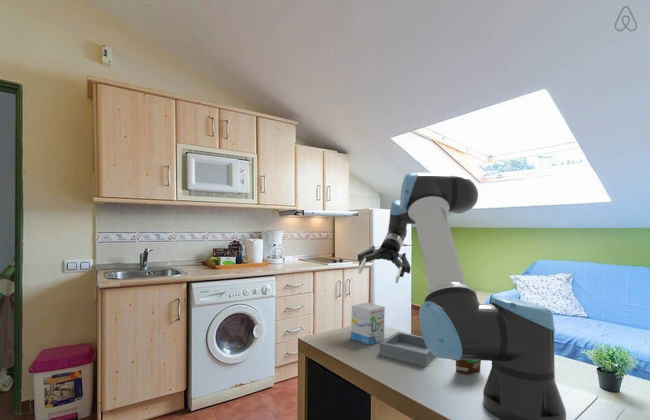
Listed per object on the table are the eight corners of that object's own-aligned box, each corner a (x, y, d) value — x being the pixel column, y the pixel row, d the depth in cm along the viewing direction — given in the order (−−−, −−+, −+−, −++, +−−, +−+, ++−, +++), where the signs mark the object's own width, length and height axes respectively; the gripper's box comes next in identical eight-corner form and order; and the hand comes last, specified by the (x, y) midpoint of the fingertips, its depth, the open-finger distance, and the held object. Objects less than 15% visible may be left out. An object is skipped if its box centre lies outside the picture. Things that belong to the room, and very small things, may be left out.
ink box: (369, 345, 108) (369, 309, 108) (350, 339, 114) (350, 305, 115) (384, 340, 113) (385, 306, 114) (366, 334, 120) (366, 301, 120)
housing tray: (426, 366, 92) (426, 354, 92) (379, 354, 100) (379, 342, 100) (440, 351, 103) (440, 340, 104) (397, 342, 112) (397, 331, 112)
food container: (479, 380, 84) (479, 340, 84) (454, 373, 87) (454, 335, 88) (489, 365, 94) (488, 330, 94) (466, 360, 97) (466, 325, 98)
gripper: (421, 260, 132) (411, 292, 114) (361, 247, 140) (344, 274, 123) (423, 245, 128) (414, 275, 111) (362, 231, 137) (345, 258, 120)
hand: (377, 275), depth 117 cm, fingers open, 13 cm apart
